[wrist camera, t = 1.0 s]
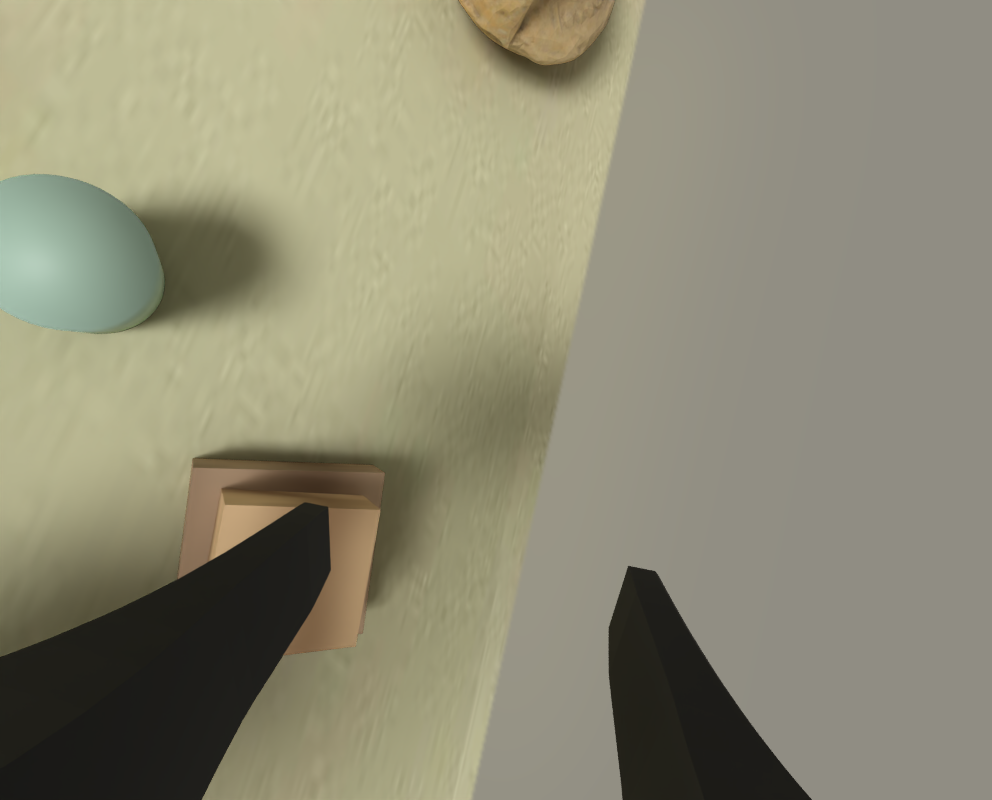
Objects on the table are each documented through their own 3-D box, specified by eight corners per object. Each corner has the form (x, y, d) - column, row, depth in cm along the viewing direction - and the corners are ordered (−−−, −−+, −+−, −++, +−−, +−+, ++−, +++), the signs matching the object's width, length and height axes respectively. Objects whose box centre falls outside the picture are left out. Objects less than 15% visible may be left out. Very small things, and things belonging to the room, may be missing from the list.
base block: (169, 632, 21) (167, 664, 19) (192, 455, 21) (193, 467, 19) (348, 609, 26) (362, 633, 24) (369, 462, 26) (385, 473, 24)
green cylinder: (6, 321, 17) (-53, 314, 13) (20, 196, 17) (-34, 149, 13) (157, 342, 20) (148, 342, 16) (171, 233, 20) (166, 203, 16)
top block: (194, 632, 20) (194, 666, 18) (221, 488, 20) (224, 504, 18) (340, 619, 23) (355, 646, 21) (363, 495, 23) (380, 510, 21)
